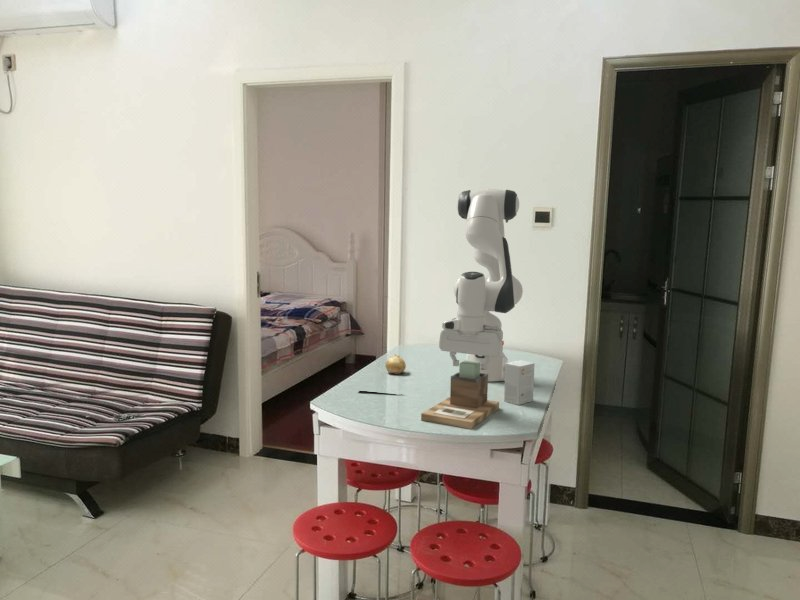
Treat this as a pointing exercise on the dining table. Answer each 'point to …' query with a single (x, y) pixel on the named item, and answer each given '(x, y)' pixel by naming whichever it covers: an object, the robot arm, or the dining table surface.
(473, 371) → the sage block
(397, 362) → the onion
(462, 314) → the robot arm
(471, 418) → the oak base board
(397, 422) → the dining table surface
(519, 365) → the small box
